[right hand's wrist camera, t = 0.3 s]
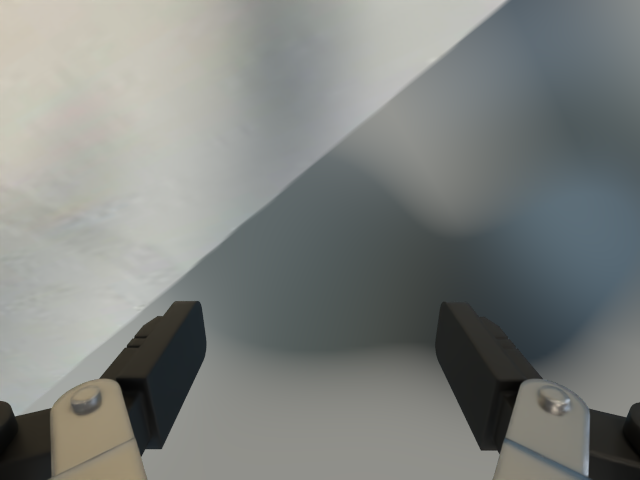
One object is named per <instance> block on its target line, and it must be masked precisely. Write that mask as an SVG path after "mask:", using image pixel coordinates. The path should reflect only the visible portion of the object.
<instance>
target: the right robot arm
mask: <svg viewBox="0 0 640 480" xmlns="http://www.w3.org/2000/svg"><path fill="white" fill-rule="evenodd" d="M435 348H436V355H437V359H438V361H439V363H440V365H441V368H442V370H443V372H444V374H445V376H446V378H447V380H448V382H449V384H450V386H451V389H452V391H453V393H454V395H455V397H456V399H457V401H458V403H459V405H460V407H461V410H462V412H463V414H464V416H465V418H466V420H467V422H468V424H469V426H470V428H471V431H472V433H473V435H474V437H475V439H476V441H477V443H478V445H479V447H480V449H481V450H498V452H499V454H500V456H499V459H498V463H497V466H496V470H495V473H494V476H493V480H640V403H636V404H634V405H632V406H631V408H630V410H629V413H628V415H627V418H626V417H622V416H617V415H613V414H609V413H605V412H600V411H596V410H592V409H588V407H587V405H586V404H585V402H584V401H583V400H582V399H581V398H580V397H579V396H578V395H577V394H575V393H574V392H573V391H571V390H569V389H568V388H566V387H564V386H562V385H560V384H558V383H555V382H552V381H549V380H544V379H543V378H542V377H541V376H540V375H539V374H538V372H537V371H536V370H535V369H534V368H533V367H532V365H531V364H530V363H529V362H528V361H527V359H526V358H525V357H524V356H523V355H522V353H521V352H520V351H519V350H518V349H516V347H515V345H514V344H513V343H512V341H511V340H510V339H508V337H507V336H506V334H505V333H504V332H503V331H502V330H501V328H500V327H499V326H498V325H496V324H495V323H493V322H492V321H490V320H488V319H487V318H485V317H479V316H478V315H477V314H476V312H475V311H474V310H473V308H472V307H471V306H470V305H469V303H468V302H443V303H442V304H441V307H440V312H439V320H438V327H437V334H436V342H435ZM205 353H206V335H205V328H204V320H203V313H202V307H201V304H200V302H199V301H175V302H174V303H173V304H172V305H171V307H170V308H169V309H168V310H167V312H166V313H165V314H164V316H157V317H156V318H154V319H153V320H151V321H150V322H148V323H147V324H145V325H144V326H143V327H142V328H141V329H140V330H139V332H138V333H137V334H136V335H135V337H134V339H132V340H131V341H130V342H129V344H128V345H127V348H124V350H123V351H122V352H121V353H120V354H119V356H118V357H117V358H116V359H115V360H114V362H113V363H112V364H111V365H110V366H109V368H108V369H107V370H106V371H105V372H104V374H103V375H102V376H101V377H100V378H99V379H96V380H91V381H88V382H85V383H82V384H80V385H78V386H76V387H74V388H72V389H71V390H69V391H67V392H66V393H65V394H63V395H62V396H61V397H60V398H59V399H58V400H57V401H56V402H55V404H54V405H53V407H52V408H50V409H46V410H42V411H38V412H33V413H29V414H25V415H20V416H16V417H15V416H14V413H13V411H12V408H11V406H10V405H9V404H8V403H6V402H3V401H0V480H147V476H146V473H145V469H144V466H143V463H142V459H141V456H142V454H143V452H144V450H145V449H162V447H163V445H164V443H165V441H166V439H167V436H168V434H169V432H170V430H171V428H172V426H173V424H174V422H175V419H176V417H177V415H178V413H179V411H180V409H181V407H182V405H183V403H184V400H185V398H186V396H187V394H188V392H189V390H190V388H191V386H192V384H193V381H194V379H195V377H196V375H197V373H198V371H199V369H200V367H201V364H202V362H203V360H204V357H205Z"/></svg>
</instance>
